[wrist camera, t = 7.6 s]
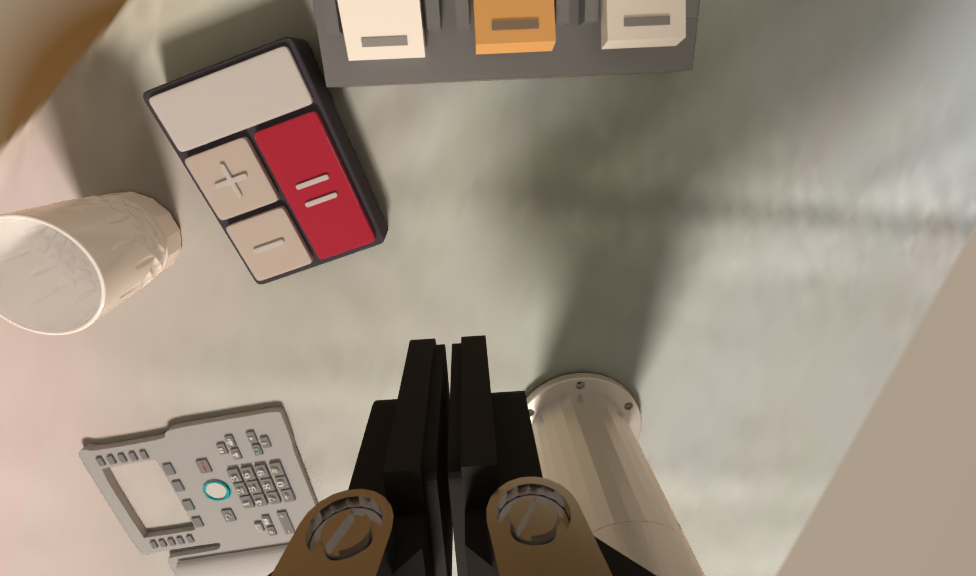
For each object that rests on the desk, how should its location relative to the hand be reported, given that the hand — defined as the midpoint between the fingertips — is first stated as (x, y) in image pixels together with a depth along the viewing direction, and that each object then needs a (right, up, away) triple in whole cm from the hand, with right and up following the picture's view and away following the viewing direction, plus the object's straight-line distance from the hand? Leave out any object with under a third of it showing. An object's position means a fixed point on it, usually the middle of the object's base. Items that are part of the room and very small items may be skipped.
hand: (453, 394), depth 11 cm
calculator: (-15, +12, +26) cm, 33 cm away
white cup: (-27, +7, +27) cm, 39 cm away
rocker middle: (+2, +20, +18) cm, 27 cm away
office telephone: (-27, -21, +40) cm, 52 cm away
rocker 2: (+10, +21, +18) cm, 29 cm away
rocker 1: (-6, +20, +18) cm, 27 cm away
